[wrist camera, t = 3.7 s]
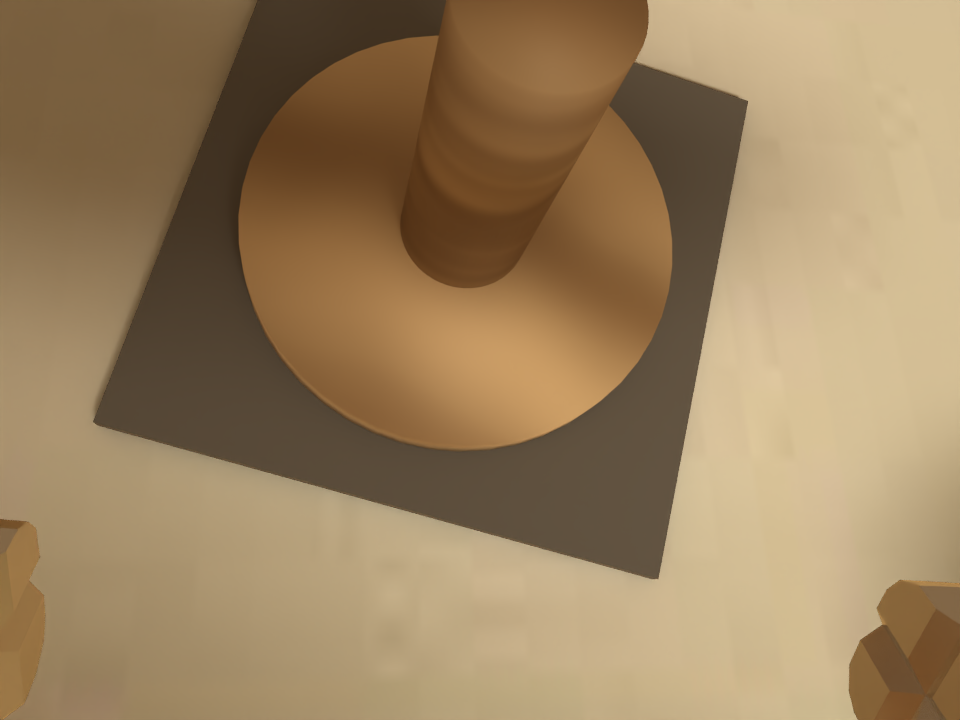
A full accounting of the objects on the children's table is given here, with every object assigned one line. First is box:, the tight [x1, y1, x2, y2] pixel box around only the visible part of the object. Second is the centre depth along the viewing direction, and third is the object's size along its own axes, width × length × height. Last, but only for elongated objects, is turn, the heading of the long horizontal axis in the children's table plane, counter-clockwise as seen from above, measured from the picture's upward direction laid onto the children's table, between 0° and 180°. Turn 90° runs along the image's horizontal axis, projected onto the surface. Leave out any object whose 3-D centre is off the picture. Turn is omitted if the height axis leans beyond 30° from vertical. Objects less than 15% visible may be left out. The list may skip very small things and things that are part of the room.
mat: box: [93, 0, 748, 579], centre depth 24 cm, size 14×14×1 cm
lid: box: [238, 0, 672, 452], centre depth 19 cm, size 11×11×10 cm
